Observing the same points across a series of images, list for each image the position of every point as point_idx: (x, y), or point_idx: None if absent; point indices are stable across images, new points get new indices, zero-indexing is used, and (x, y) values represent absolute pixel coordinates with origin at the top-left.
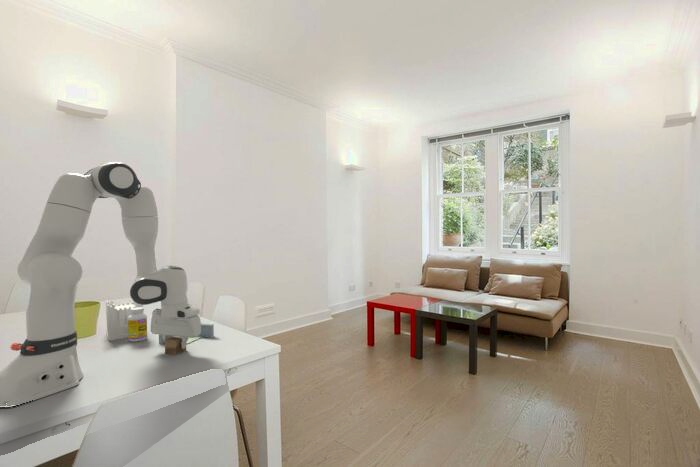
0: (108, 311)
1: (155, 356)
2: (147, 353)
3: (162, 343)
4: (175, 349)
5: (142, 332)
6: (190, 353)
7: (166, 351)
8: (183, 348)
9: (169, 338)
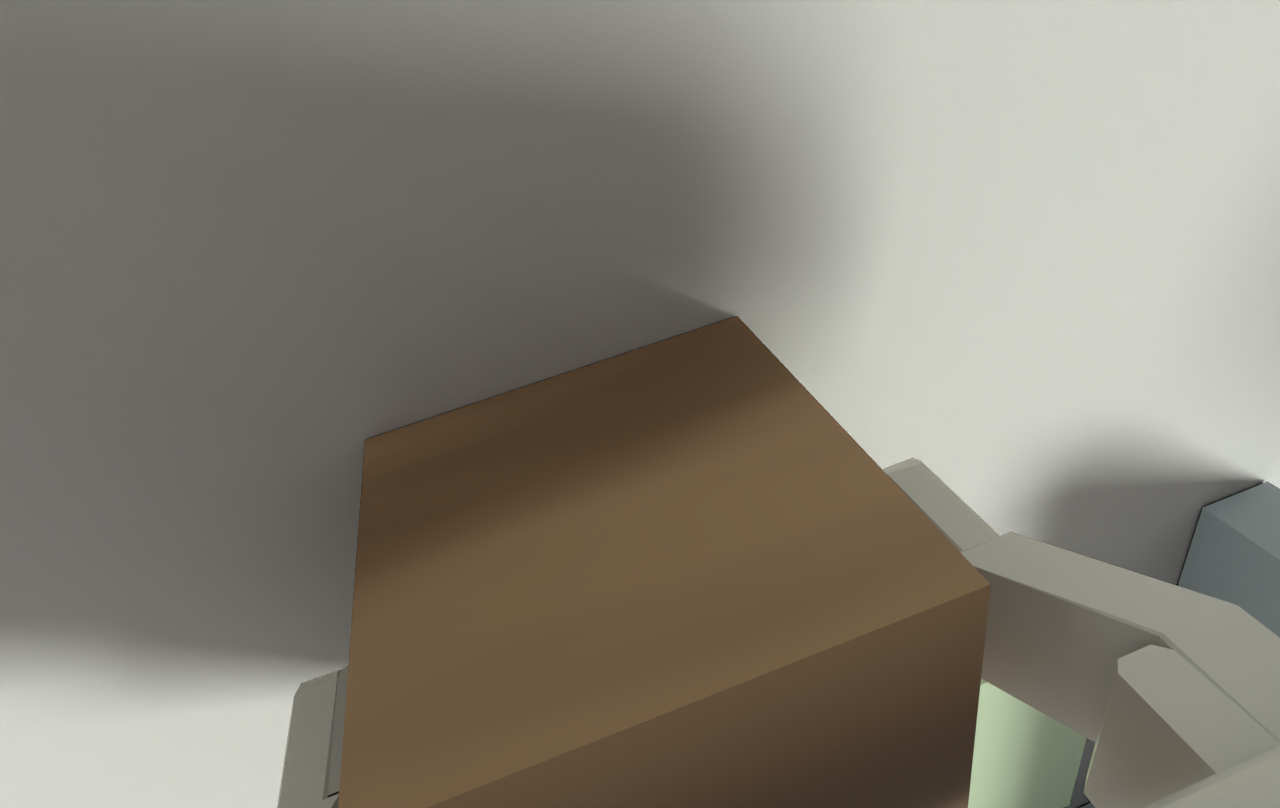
0: None
1: (770, 16)
2: (1166, 40)
3: (1206, 516)
4: (374, 532)
5: None
6: (143, 676)
7: (707, 357)
8: (314, 690)
9: (912, 731)
